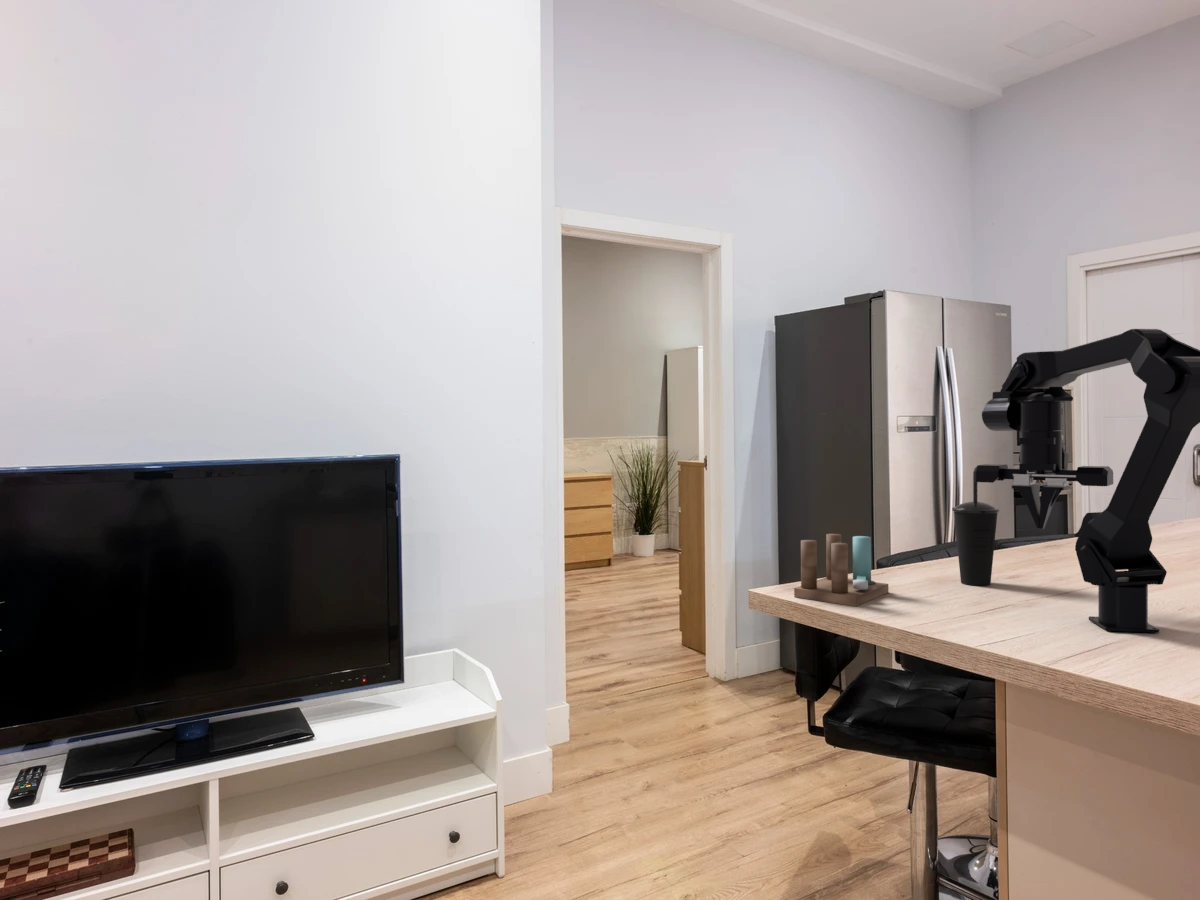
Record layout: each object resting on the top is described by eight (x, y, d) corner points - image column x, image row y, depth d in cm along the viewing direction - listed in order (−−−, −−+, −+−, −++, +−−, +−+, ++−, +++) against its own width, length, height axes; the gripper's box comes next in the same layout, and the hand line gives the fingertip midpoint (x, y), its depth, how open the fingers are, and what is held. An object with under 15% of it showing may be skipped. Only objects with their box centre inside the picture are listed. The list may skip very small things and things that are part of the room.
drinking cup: (988, 579, 141) (988, 472, 140) (1006, 587, 133) (1006, 474, 133) (946, 579, 142) (945, 472, 141) (961, 587, 134) (961, 474, 133)
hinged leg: (869, 590, 124) (869, 544, 124) (850, 588, 125) (850, 543, 125) (871, 578, 133) (871, 536, 133) (853, 577, 134) (853, 535, 134)
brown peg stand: (888, 592, 131) (888, 537, 131) (855, 606, 121) (855, 547, 121) (829, 584, 138) (829, 532, 138) (794, 597, 129) (793, 541, 128)
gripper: (1119, 430, 120) (1119, 527, 121) (992, 431, 133) (992, 519, 133) (1106, 430, 112) (1106, 535, 113) (972, 432, 125) (972, 526, 125)
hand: (1040, 528), depth 121 cm, fingers closed
